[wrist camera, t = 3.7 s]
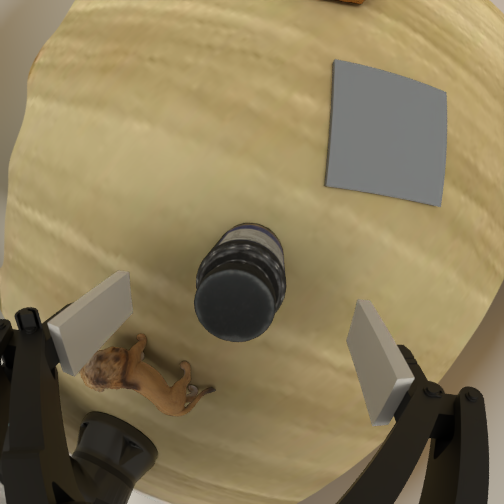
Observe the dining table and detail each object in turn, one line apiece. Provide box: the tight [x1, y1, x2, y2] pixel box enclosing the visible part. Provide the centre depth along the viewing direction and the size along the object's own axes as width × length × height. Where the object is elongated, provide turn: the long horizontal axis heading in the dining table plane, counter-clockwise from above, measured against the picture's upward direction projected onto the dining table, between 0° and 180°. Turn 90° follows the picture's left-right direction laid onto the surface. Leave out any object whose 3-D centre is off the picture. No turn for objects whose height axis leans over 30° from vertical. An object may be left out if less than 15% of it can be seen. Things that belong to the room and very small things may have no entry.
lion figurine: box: [79, 334, 216, 416], centre depth 26 cm, size 15×5×9 cm, turn 63°
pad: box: [324, 59, 447, 207], centre depth 21 cm, size 12×12×1 cm
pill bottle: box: [194, 223, 286, 342], centre depth 21 cm, size 6×6×11 cm
